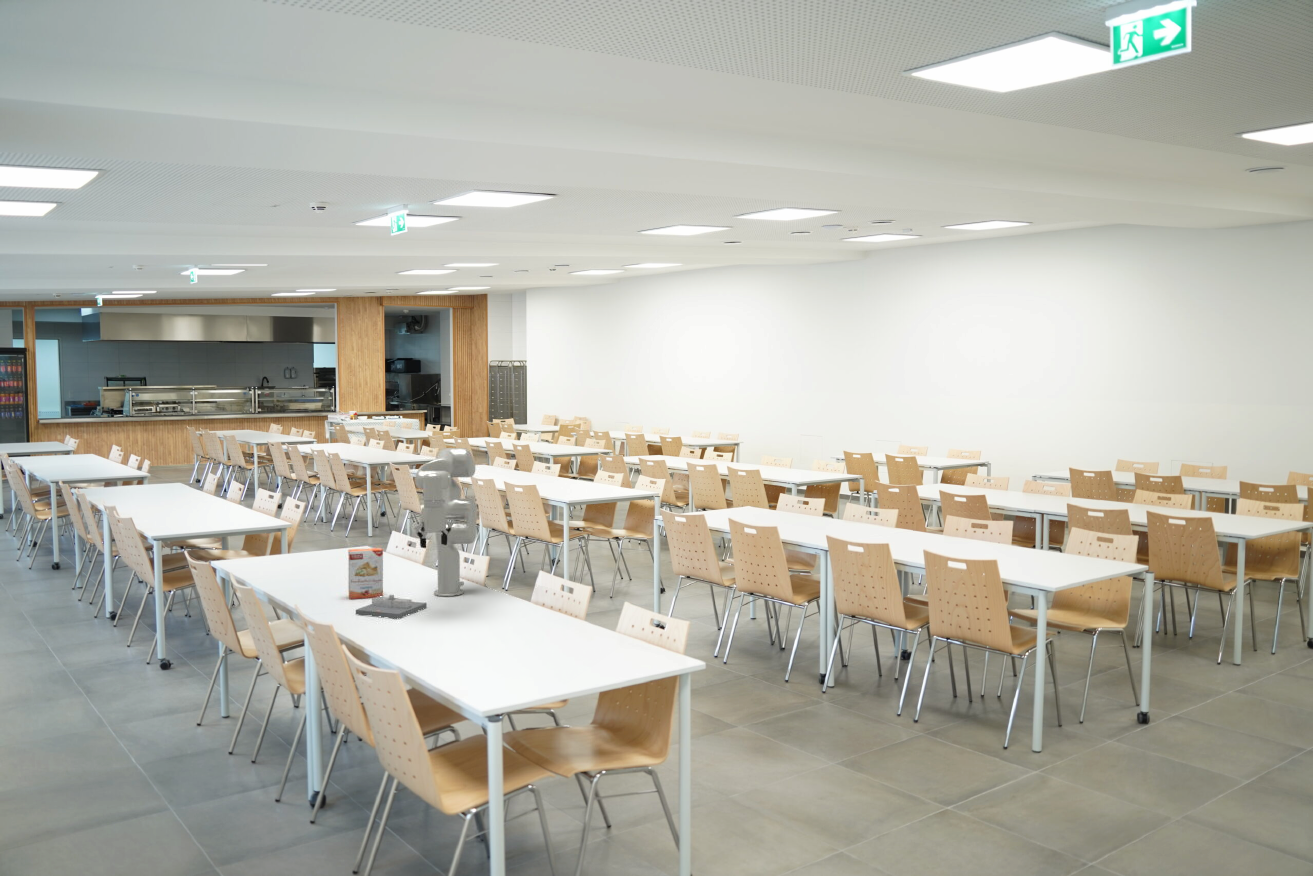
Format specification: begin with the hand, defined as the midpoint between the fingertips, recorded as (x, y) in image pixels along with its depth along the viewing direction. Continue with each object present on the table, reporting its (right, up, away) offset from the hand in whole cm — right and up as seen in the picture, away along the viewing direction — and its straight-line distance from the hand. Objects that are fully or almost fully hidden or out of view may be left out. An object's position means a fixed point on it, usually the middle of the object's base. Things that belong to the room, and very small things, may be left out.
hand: (433, 546), depth 395 cm
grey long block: (-18, -25, +4) cm, 31 cm away
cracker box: (-36, -25, +29) cm, 53 cm away
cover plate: (-18, -27, +4) cm, 32 cm away
